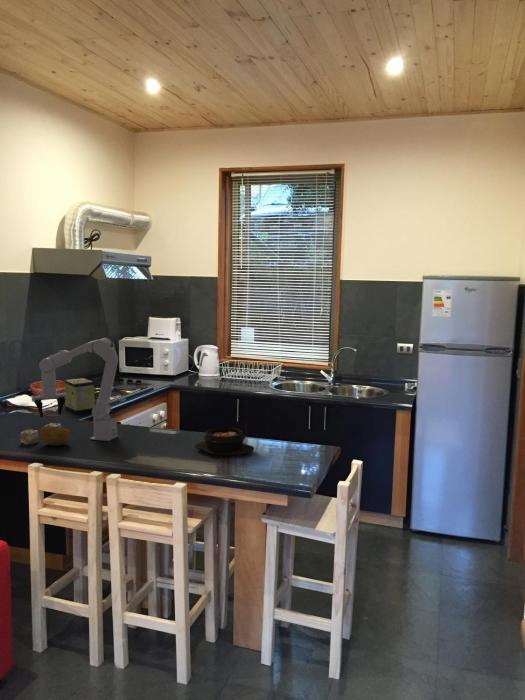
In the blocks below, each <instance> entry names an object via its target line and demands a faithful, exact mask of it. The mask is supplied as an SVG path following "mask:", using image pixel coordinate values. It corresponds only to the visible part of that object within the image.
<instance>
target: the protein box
mask: <svg viewBox="0 0 525 700" xmlns="http://www.w3.org/2000/svg"><path fill="white" fill-rule="evenodd" d="M64 393H67V398H65V402H64V404H65V409H67V410H68V411H71V412H73V413H74V414H81V413H86V412H92V409H93V408H94V407H95V405H96V402H95V381H92V380H89V379H87V378H84V377H80V378H72V379H71V378H70V379H64Z"/></svg>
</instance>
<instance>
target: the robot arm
mask: <svg viewBox="0 0 525 700" xmlns="http://www.w3.org/2000/svg"><path fill="white" fill-rule="evenodd" d="M87 352H88V353H95V354H96V355H98V356H99V357H100V358H102V360H103V361H104V362H105V365H104V368H103V373H102V378H101V383H100V388H99V392H98V397H97V399H96V402H95V407H94V408H93V409H92V411H91V415H92V417H93V420H92V421H93V436H92V437H89V440H94V441H104V442H105V441H107V442H109V441H112V440H114V439H115V438H118V437H119V435H118V427H117V426H118V425H117V420H116V419H114V418H111V415H110V412H111V411H112V404H111V401H112V400H111V397H112V395H111V394H112V391H113V386H114V381H115V376H116V372H117V367H118V363H119V356H118V354H117V351H116V348H115V343H114V342H113V341H112V340H111V339H110V338H109V337H102V338H100V339H95V340H91V341H89V342H86V343H84V344H82V345H79V346H78V347H76V348H73V349H71V350H66V349H64V350H63V349H61V350H58V352H57V353H55V354H50V355H48V357H46V358H43V359H41V360H40V362H39V364H38V368H39V369H40V370H41V371H40V372H41V388H42V394H40V395H35V396H33V395H32V396H31V402H33V403H34V404H35V406H36V408H37V410H38V414H39V417H40V418H44V412H43V404H44V403H43V402H42V401H47V400H48V401H49V400H56V403H57V415H59V416H60V415H62V410H63V408H64V404H65V398H67V393H65V392H61V393H60V392H58V393H57V381H56V380H57V376H56V374H57V373H56V368H60V367H62V366H64V365H66V364H69V363H71V362H72V360H73V358H75V357H77V356H80V355H82V354H85V353H87Z"/></svg>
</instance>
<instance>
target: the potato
mask: <svg viewBox="0 0 525 700" xmlns="http://www.w3.org/2000/svg"><path fill="white" fill-rule="evenodd" d="M44 426H45V427H44ZM44 426H43V427H41V428H40V430H39V437H40V439H41V441H42V442H43V443H45V444H46V445H49V446H51V447H55V446H56V447H57V446H63V445H65V444H67V443H68V442H69V441H70V440H71V436H72V434H71V431H70V430H69V429H68V428H64V427H62V426H61V427H55V426H46V425H44Z"/></svg>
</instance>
